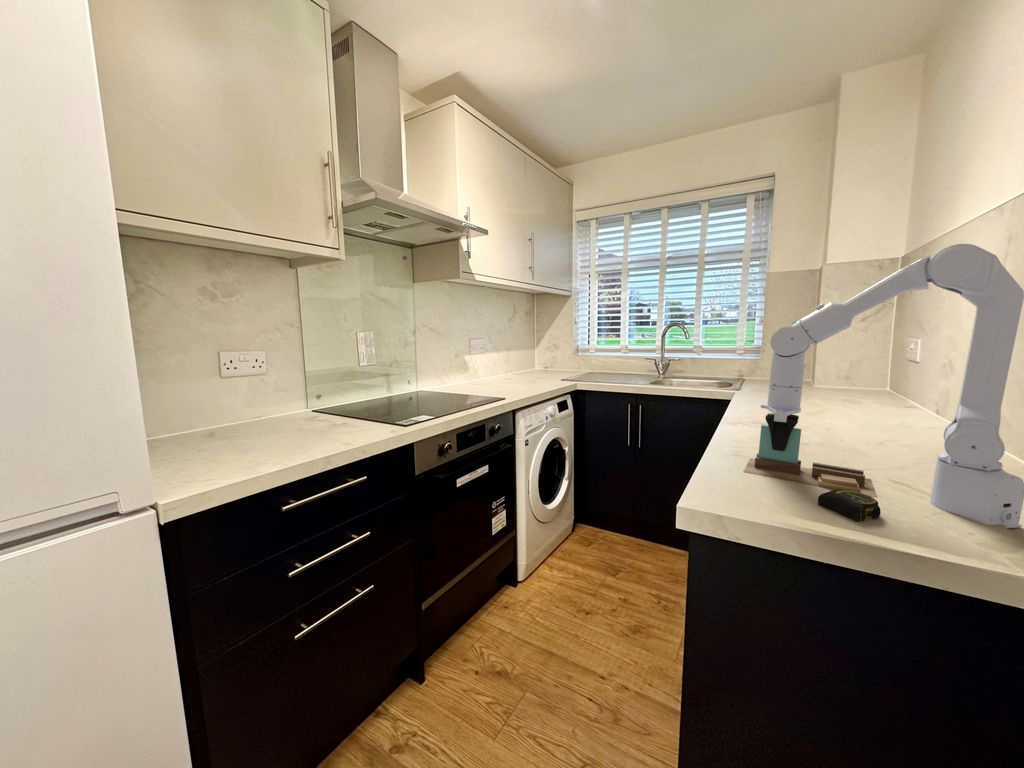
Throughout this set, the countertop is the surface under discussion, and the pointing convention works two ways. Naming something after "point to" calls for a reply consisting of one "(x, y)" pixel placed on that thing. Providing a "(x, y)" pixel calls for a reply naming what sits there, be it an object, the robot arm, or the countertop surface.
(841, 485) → the lower oak offcut
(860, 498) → the tape measure
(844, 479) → the upper oak offcut
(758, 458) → the walnut rack
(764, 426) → the teal sheet
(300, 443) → the countertop surface
